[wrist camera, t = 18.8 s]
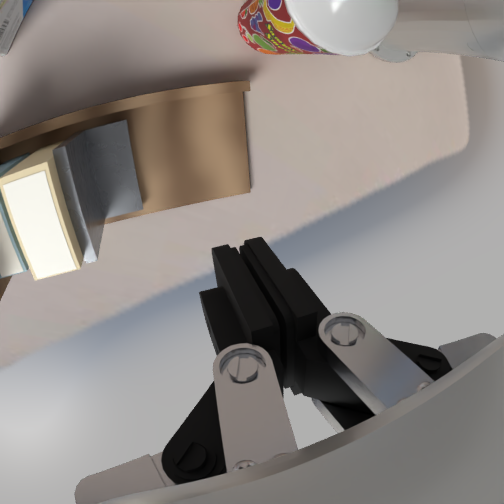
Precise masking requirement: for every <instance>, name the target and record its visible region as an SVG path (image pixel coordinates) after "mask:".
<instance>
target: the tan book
mask: <svg viewBox="0 0 504 504" xmlns="http://www.w3.org/2000/svg"><path fill="white" fill-rule="evenodd" d="M64 141H65V140H63V141H60V142H56V143H53V144H50V145H47V146H44V147H41V148H40V149H38V150H37V151H35V152H34V153H33V154H31V155H30V156H28V157H27V158H25V159H24V160H23V161H21V162H20V163H19V164H17V165H16V166H15V167H13V168H12V169H11V170H9V171H8V172H7V173H5V174H4V175H3V176H1V177H0V189H1V193H2V196H3V199H4V202H5V205H6V208H7V211H8V214H9V217H10V220H11V223H12V226H13V228H14V231H15V234H16V236H17V239H18V242H19V244H20V247H21V249H22V252H23V254H24V256H25V259H26V261H27V263H28V266H29V268H30V270H31V273H32V275H33V277H34V279H35V280H39V279H43V278H47V277H51V276H54V275H58V274H62V273H66V272H70V271H74V270H78V269H81V265H82V261H83V254H82V252H81V249H80V246H79V243H78V240H77V237H76V234H75V231H74V228H73V225H72V222H71V219H70V216H69V212H68V209H67V206H66V202H65V199H64V195H63V192H62V188H61V184H60V180H59V177H58V173H57V169H56V164H55V160H54V156H53V151H52V150H53V149H54V148H56V147H57V146H58V145H60V144H61V143H62V142H64Z"/></svg>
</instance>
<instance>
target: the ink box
mask: <svg viewBox="0 0 504 504" xmlns="http://www.w3.org/2000/svg"><path fill="white" fill-rule="evenodd" d="M32 1H33V0H0V56H5V55H6V54H7V53H8V50H9V48H10V46H11V44H12V41H13V39H14V37H15V35H16V32H17V30H18V28H19V26H20V24H21V22H22V20H23V18H24V16H25V14H26V12H27V11H28V9H29V7H30V5H31V3H32Z"/></svg>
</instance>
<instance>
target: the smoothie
mask: <svg viewBox="0 0 504 504" xmlns="http://www.w3.org/2000/svg"><path fill="white" fill-rule="evenodd" d="M397 16H398V0H248V1H247V2H246V3H245V4H244V5H243V6H242V7H241V10H240V12H239V14H238V28H239V31H240V34H241V36H242V37H243V39H244V40H245V41H246V43H247V44H248V45H250V46H251V47H252V48H254V49H255V50H257V51H260V52H262V53H265V54H275V55H276V54H330V55H344V56H356V55H364V54H366V53H368V52H370V51H372V50H374V49H375V48H377V47H378V45H379V44H380V43H381V42H382V41H383V40H384V38H385V37H386V36H387V34H388V33H389V32H390V31H391V30H392V28H393V27H394V25H395V22H396V19H397Z"/></svg>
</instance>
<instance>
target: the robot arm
mask: <svg viewBox="0 0 504 504" xmlns="http://www.w3.org/2000/svg"><path fill="white" fill-rule="evenodd" d="M417 52H434V53H446V54H456V55H465V56H472V57H479V58H486V59H493V60H498V61H503V62H504V0H398V16H397V19H396V22H395V25H394V27H393V28H392V30H391V31H390V32H389V33H388V34H387V36H386V37H385V38H384V40H383V41H382V42H381V43H380V44H379V45H378V47H377V48H375V49H374V50H372V51H370V52H369V53H371V54H372V55H374V56H375V57H377V58H379V59H381V60H384V61H387V62H396V63H397V62H404V61H407V60H409V59H411V58H412V57H414V56H415V55H416V53H417ZM239 250H240V254H239V252H238V250H237V249H236V247H233V248H230V246H229V245H228V244H227V245H223V246H219V247H214V248H212V256H213V262H214V268H215V274H216V280H217V286H218V287H217V288H213V289H210V290H205V291H201V292H199V294H200V298H201V303H202V308H203V312H204V316H205V320H206V323H207V327H208V330H209V334H210V337H211V340H212V343H213V346H214V349H215V352H216V355H217V357H216V359H215V361H214V363H213V375H214V381H213V383H212V384H211V385H210V387H209V389H208V390H207V391H206V393H205V394H204V395H203V397H202V398H201V399H200V401H199V402H198V404H197V405H196V406H195V407H194V409H193V410H192V412H191V413H190V414H189V416H188V417H187V418H186V420H185V421H184V423H183V424H182V425H181V426H180V428H179V429H178V431H177V432H176V433H175V434H174V436H173V437H172V438H171V440H170V441H169V442H168V444H167V445H166V447H165V449H164V450H163V452H160V453H158V454H155V455H153V456H150V455H149V454H147V455H145V456H142V457H140V458H137V459H135V460H132V461H129V462H127V463H124V464H121V465H119V466H116V467H113V468H110V469H107V470H105V471H102V472H99V473H96V474H93V475H90V476H87V477H85V478H84V479H82V480H81V481H80V482H79V484H78V485H77V486H76V490H75V500H76V504H504V334H503V335H501V336H500V337H499V338H497V339H496V338H495V337H494V336H492V335H490V334H486V333H480V334H477V335H473V336H470V337H467V338H465V339H461V340H458V341H455V342H452V343H448V344H445V345H442V346H439V348H438V350H437V349H434V348H431V347H427V346H422V345H417V344H412V343H408V342H403V341H398V340H393V339H388V338H385V337H384V336H383V335H382V334H381V333H380V332H378V331H377V330H376V329H375V328H374V327H373V326H372V325H370V324H369V323H368V322H367V321H366V320H365V319H363V318H361V317H360V316H358V315H355V314H352V313H345V312H342V313H334V314H332V315H331V313H330V312H329V311H328V310H327V308H326V307H325V306H324V305H323V303H322V302H321V301H320V299H319V298H318V297H317V296H316V294H315V293H314V292H313V290H312V289H311V288H310V287H309V286H308V284H307V283H306V282H305V280H304V279H303V278H302V277H301V275H300V274H299V273H298V272H297V271H296V270H295V269H294V268H291V269H287V270H286V268H285V267H284V266H283V264H282V263H281V262H280V260H279V259H278V258H277V256H276V255H275V254H274V253H273V251H272V250H271V249H270V247H269V246H268V245H267V243H266V242H265V241H264V239H263V238H262V237H258V238H253V239H249V240H245V241H244V245H242V246H240V248H239ZM283 386H284V388H289V387H290V388H291V390H292V392H293V394H294V395H297V394H299V393H302V394H303V395H304V396H307V397H311V398H312V401H313V403H314V405H315V406H316V407H317V409H318V410H319V411H320V412H321V414H322V415H323V416H324V417H325V419H326V420H327V421H328V422H329V423H330V425H331V426H332V427H333V428H334V429H335V431H336V432H337V433H338V434H336V435H334V436H331V437H329V438H327V439H324V440H322V441H320V442H317V443H315V444H312V445H310V446H308V447H305V448H302V449H299V450H298V448H297V444H296V441H295V438H294V434H293V431H292V427H291V424H290V421H289V418H288V414H287V410H286V407H285V404H284V400H283Z"/></svg>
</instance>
